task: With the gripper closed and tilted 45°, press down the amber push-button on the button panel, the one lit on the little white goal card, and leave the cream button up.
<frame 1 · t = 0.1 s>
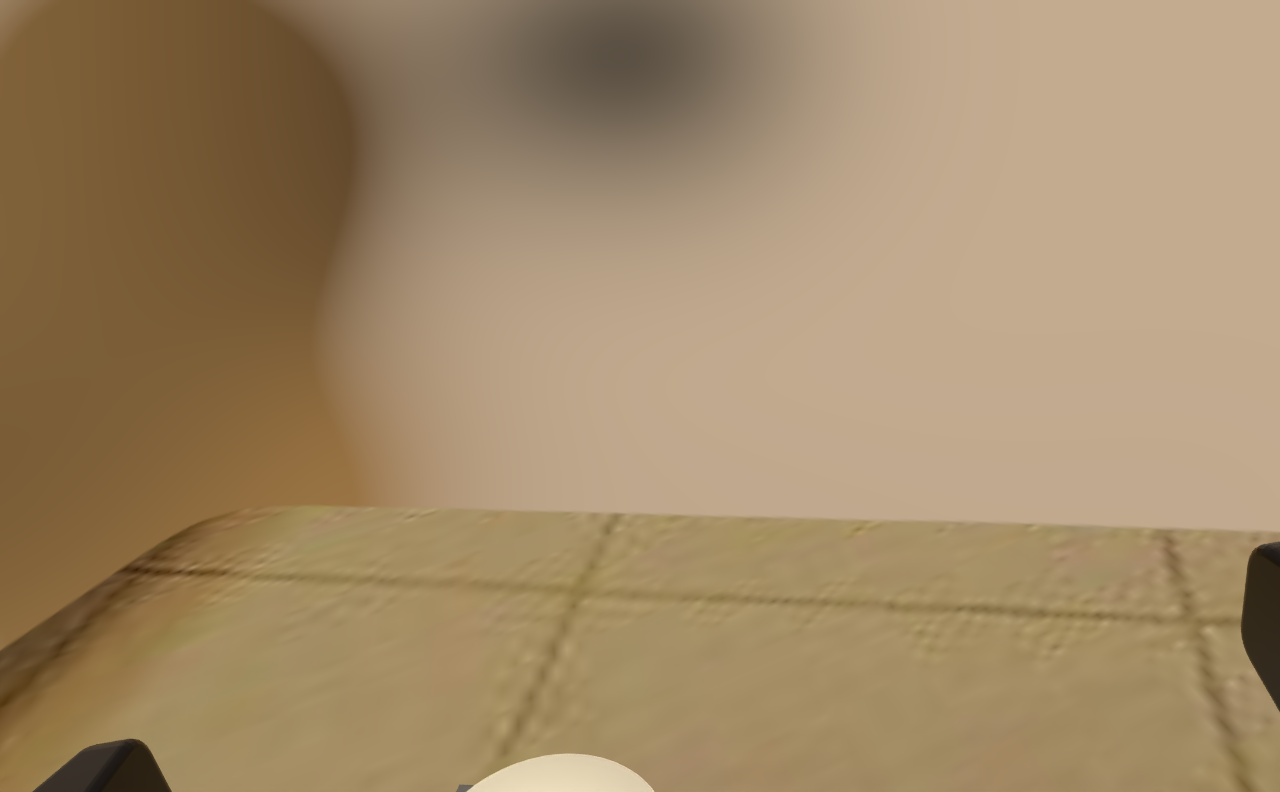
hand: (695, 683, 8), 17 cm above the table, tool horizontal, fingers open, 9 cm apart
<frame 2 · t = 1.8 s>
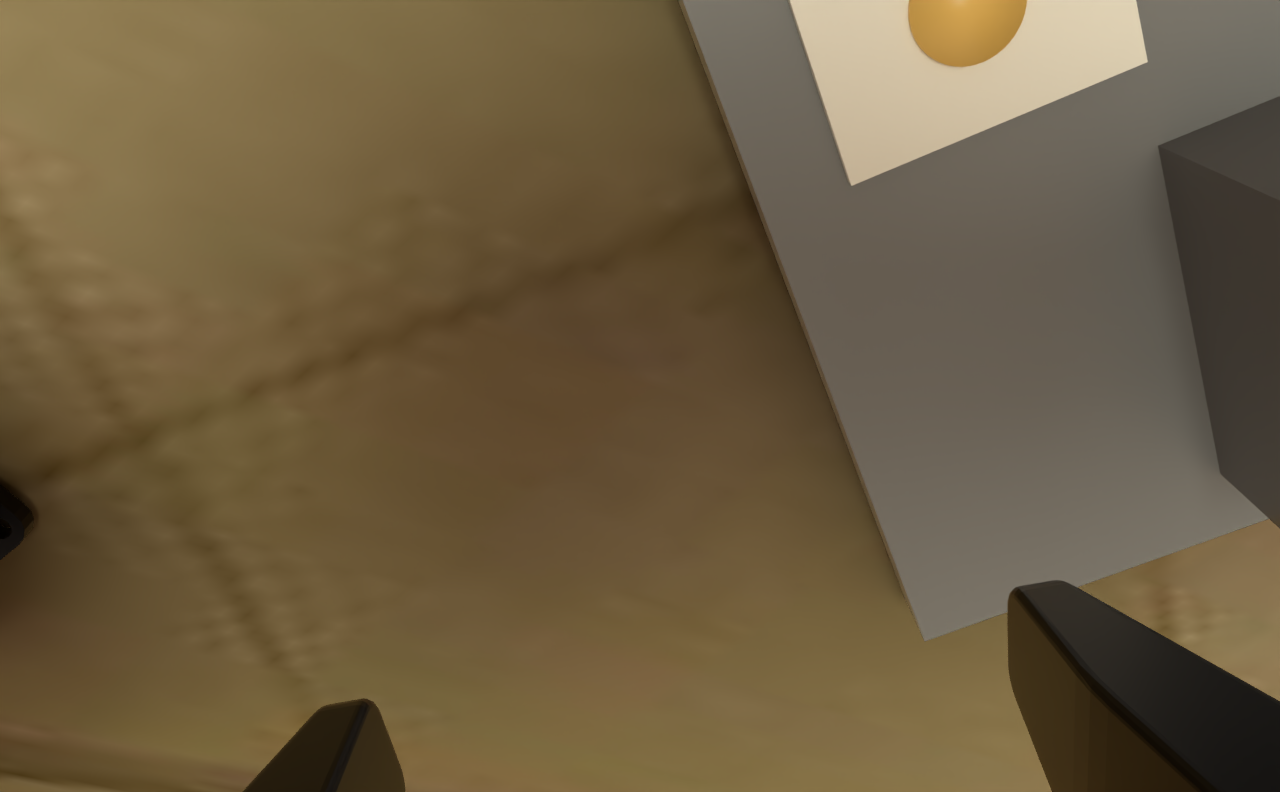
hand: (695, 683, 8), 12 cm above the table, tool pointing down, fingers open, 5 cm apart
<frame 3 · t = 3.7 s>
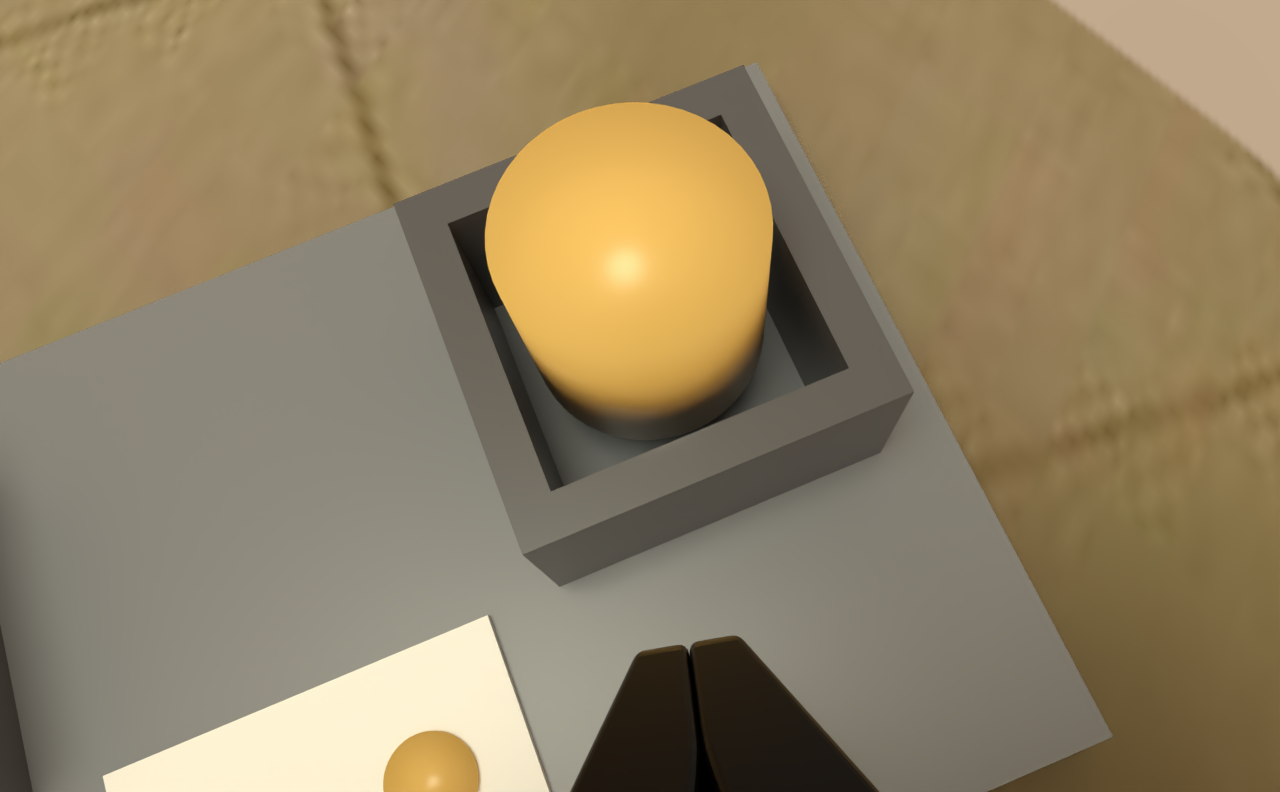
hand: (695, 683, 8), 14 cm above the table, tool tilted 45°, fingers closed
amber button: (638, 283, 18), point 6 cm above the table, slide at 0.0 cm
button panel: (308, 630, 22), on the table
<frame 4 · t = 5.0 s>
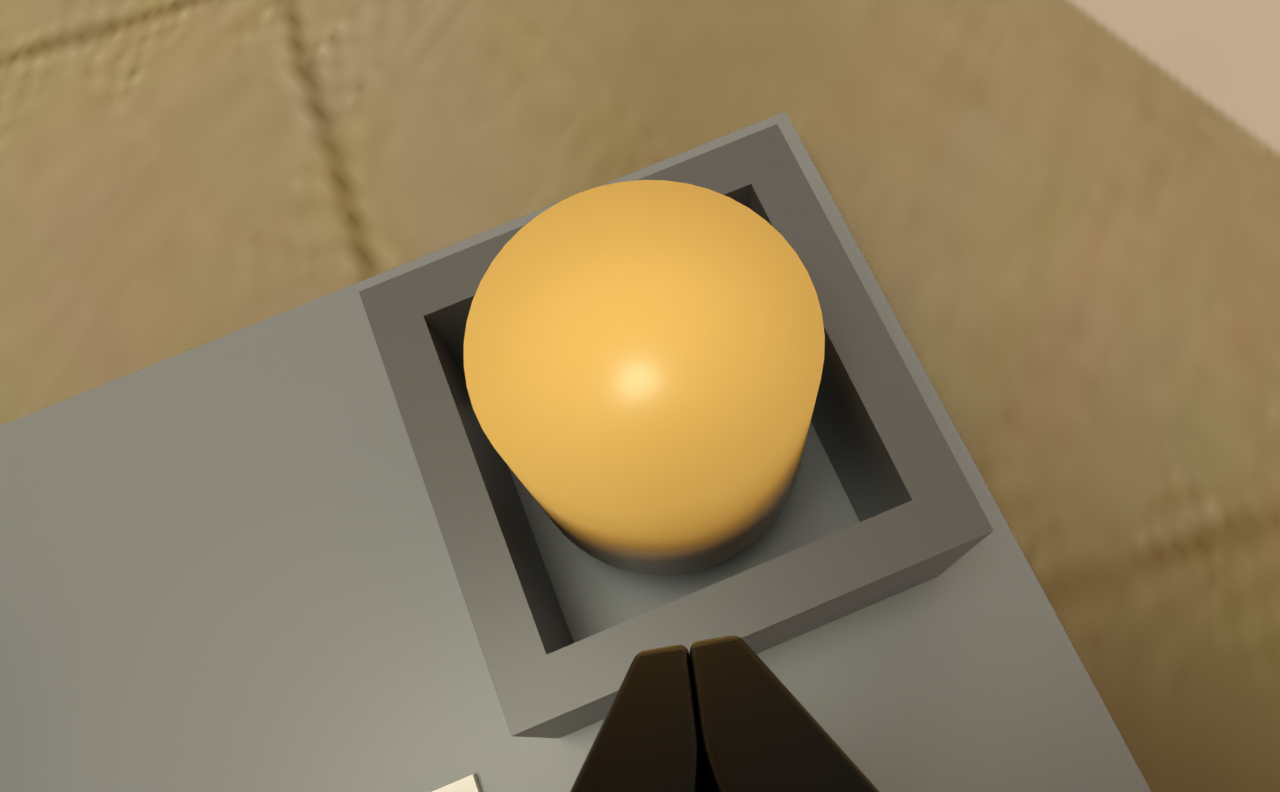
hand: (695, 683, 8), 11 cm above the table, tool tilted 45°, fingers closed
amber button: (653, 394, 15), point 6 cm above the table, slide at 0.0 cm
button panel: (265, 777, 19), on the table
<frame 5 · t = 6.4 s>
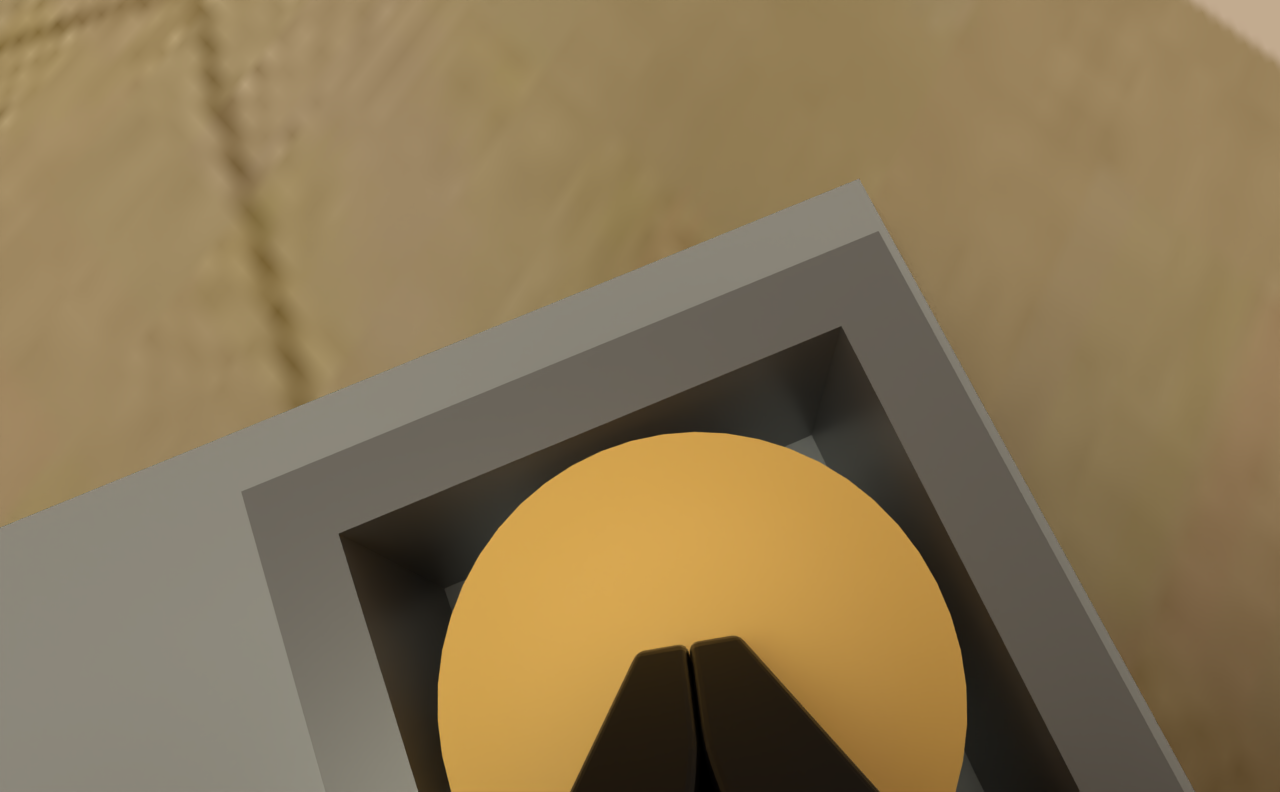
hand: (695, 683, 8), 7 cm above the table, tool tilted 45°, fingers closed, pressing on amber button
amber button: (702, 695, 11), point 4 cm above the table, slide at 1.7 cm, touching gripper
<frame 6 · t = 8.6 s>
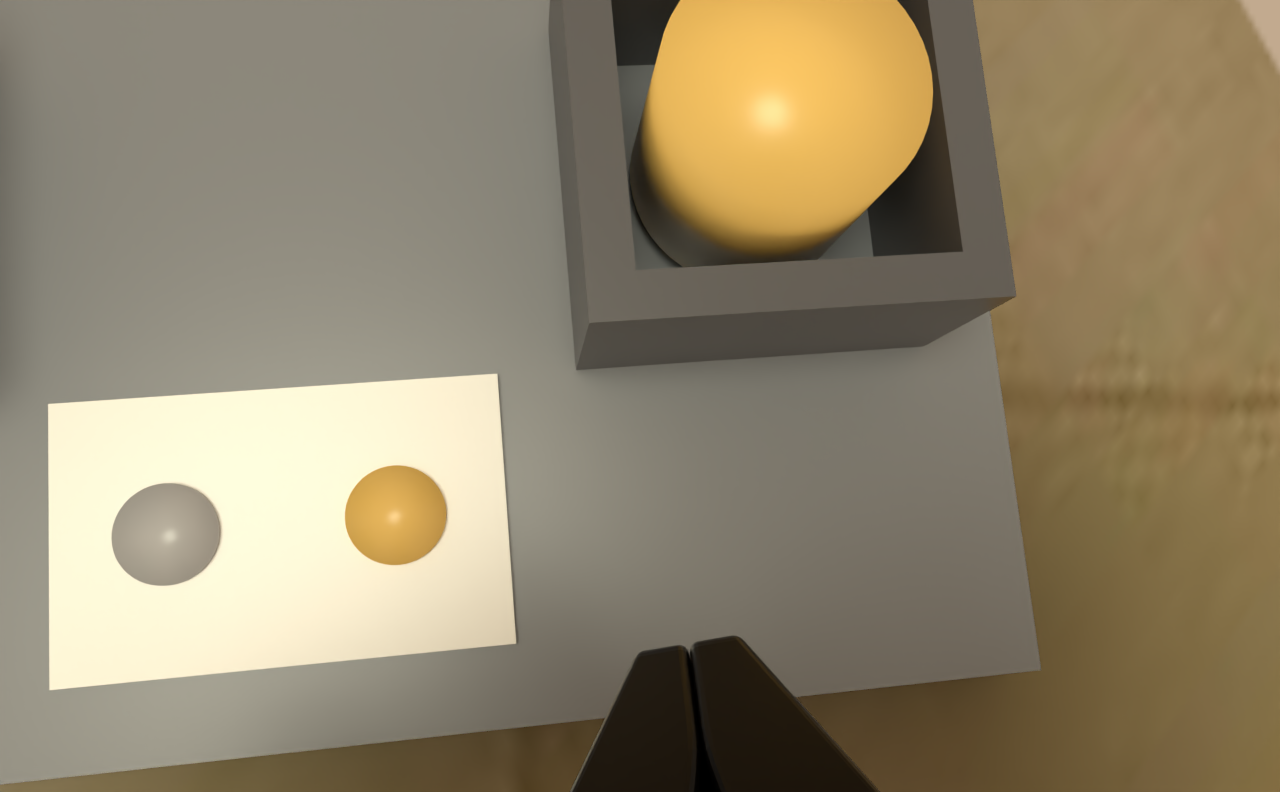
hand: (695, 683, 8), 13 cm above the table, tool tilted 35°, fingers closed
amber button: (766, 133, 18), point 4 cm above the table, slide at 1.7 cm
button panel: (294, 329, 21), on the table
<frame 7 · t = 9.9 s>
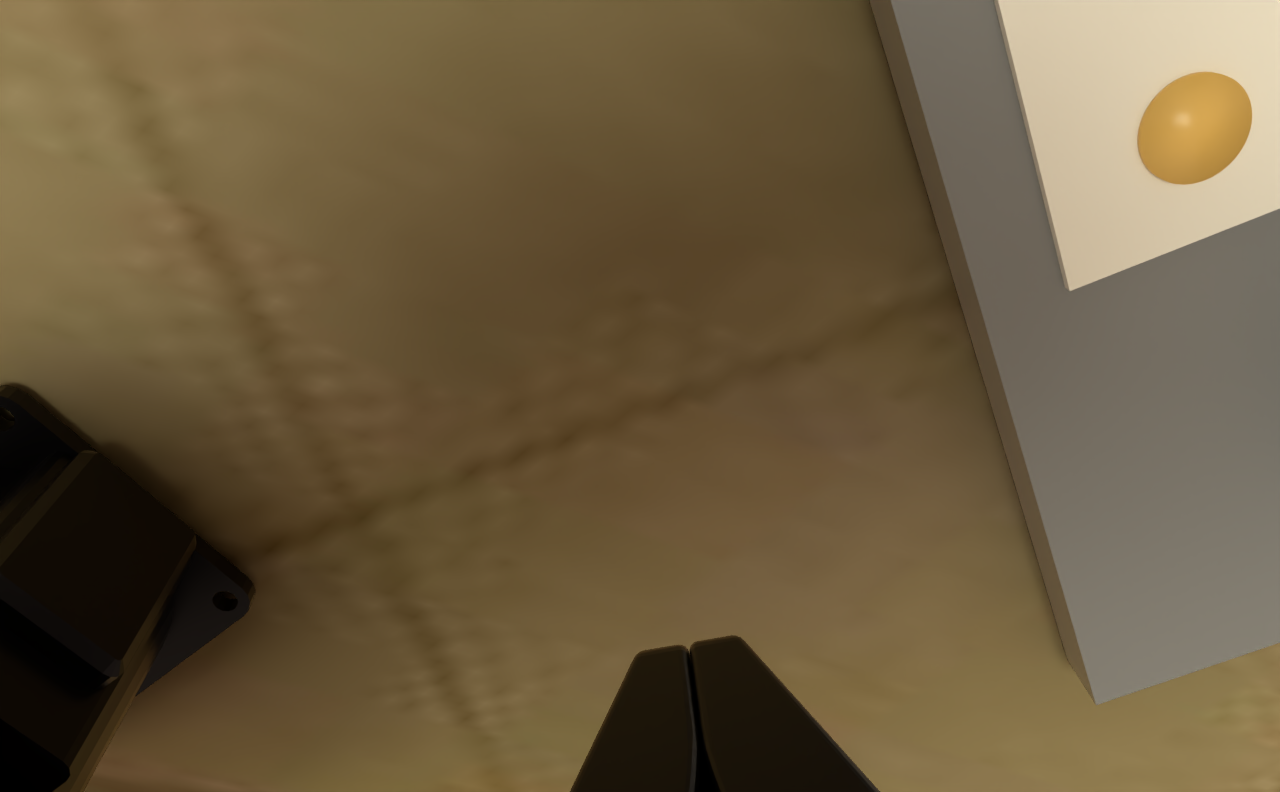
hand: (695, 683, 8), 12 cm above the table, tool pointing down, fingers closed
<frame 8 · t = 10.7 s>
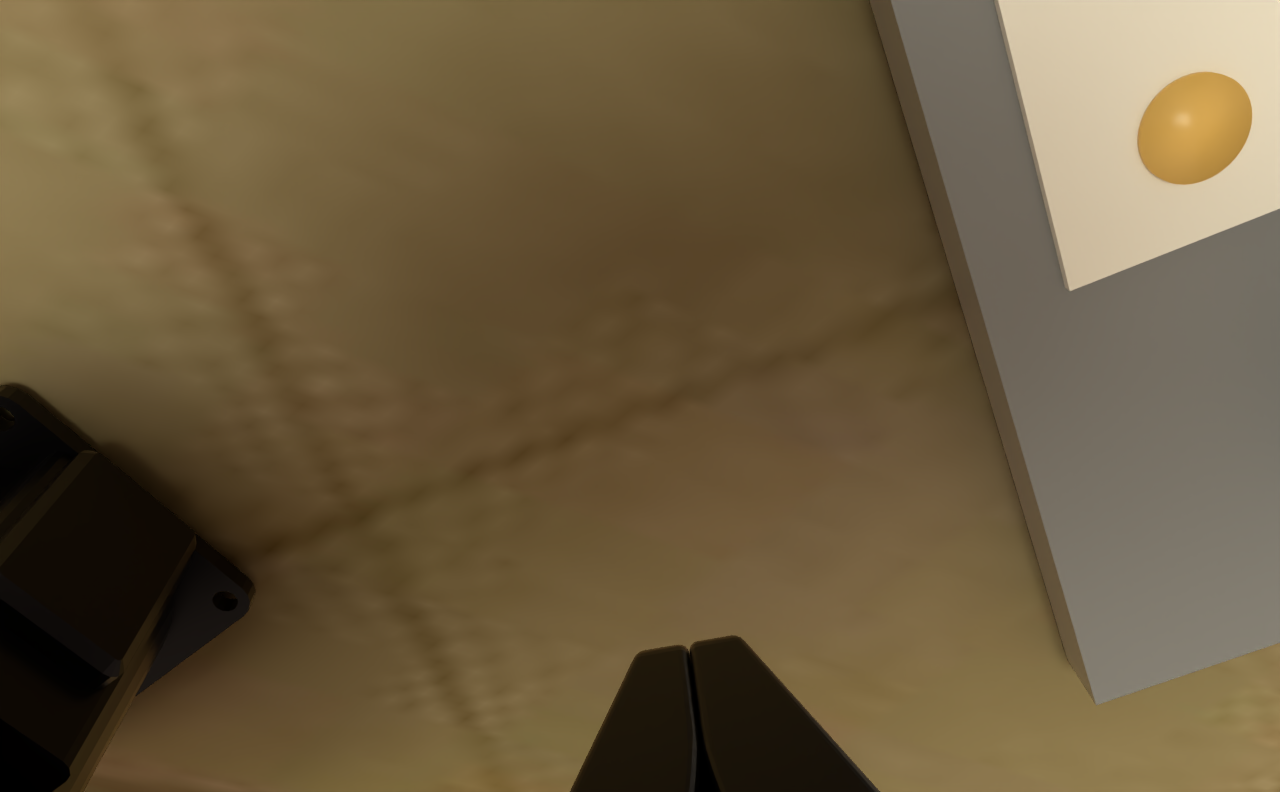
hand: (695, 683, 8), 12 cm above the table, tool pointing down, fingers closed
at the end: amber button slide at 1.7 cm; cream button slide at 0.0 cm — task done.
